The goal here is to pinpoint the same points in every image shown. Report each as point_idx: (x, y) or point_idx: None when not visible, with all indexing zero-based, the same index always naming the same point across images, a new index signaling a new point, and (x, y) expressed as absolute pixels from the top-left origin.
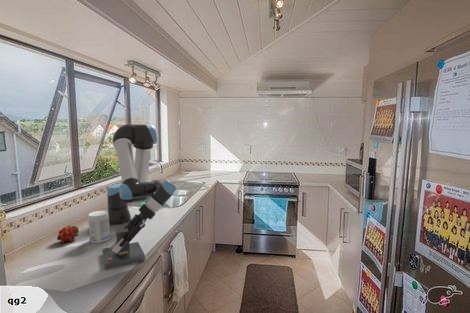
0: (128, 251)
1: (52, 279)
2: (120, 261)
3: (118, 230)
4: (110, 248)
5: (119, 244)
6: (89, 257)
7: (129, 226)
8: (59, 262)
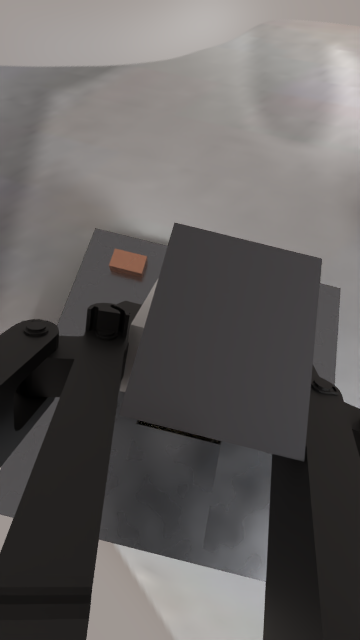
0: (216, 441)
1: (193, 87)
2: (65, 314)
3: (294, 289)
4: (317, 333)
5: (140, 306)
6: (319, 239)
7: (307, 518)
8: (346, 136)
